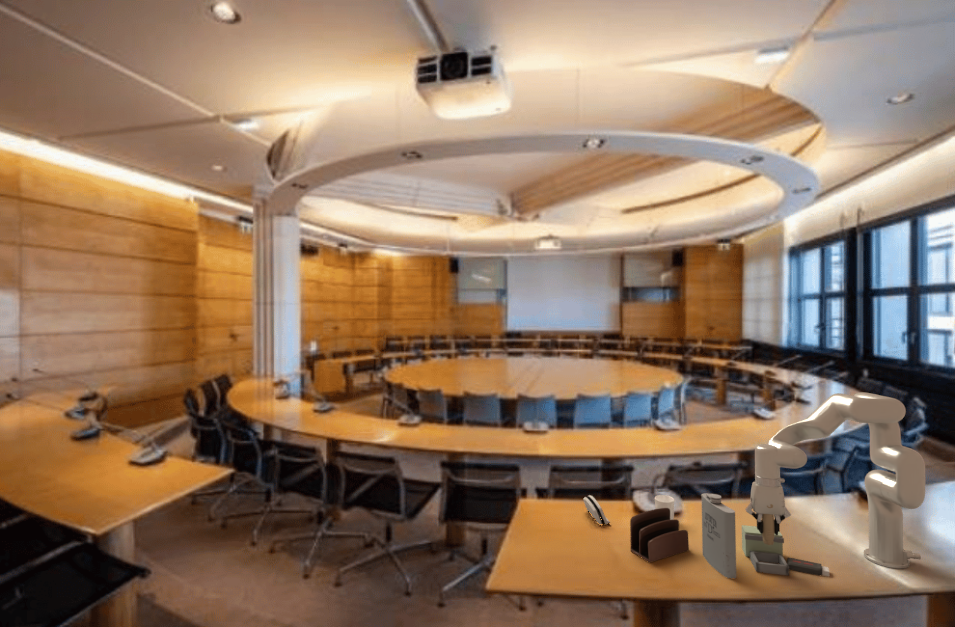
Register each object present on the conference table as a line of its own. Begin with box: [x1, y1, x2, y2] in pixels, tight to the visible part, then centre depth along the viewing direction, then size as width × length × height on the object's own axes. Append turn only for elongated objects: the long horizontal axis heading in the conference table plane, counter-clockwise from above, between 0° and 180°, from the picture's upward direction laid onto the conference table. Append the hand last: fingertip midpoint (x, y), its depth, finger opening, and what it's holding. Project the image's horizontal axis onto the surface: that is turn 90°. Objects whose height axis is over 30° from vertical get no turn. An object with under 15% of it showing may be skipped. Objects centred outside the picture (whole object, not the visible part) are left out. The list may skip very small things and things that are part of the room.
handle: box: [761, 504, 775, 545], centre depth 173 cm, size 5×6×15 cm
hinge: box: [582, 494, 611, 525], centre depth 216 cm, size 17×5×10 cm, turn 7°
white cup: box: [654, 494, 675, 520], centre depth 211 cm, size 8×8×10 cm
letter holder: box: [629, 508, 690, 563], centre depth 187 cm, size 10×20×14 cm, turn 115°
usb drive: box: [786, 557, 830, 577], centre depth 171 cm, size 5×12×3 cm, turn 59°
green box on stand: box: [741, 524, 790, 576], centre depth 177 cm, size 12×16×9 cm
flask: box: [700, 492, 737, 580], centre depth 175 cm, size 17×5×25 cm, turn 4°
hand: (768, 532), depth 173 cm, fingers closed on handle, 4 cm apart
